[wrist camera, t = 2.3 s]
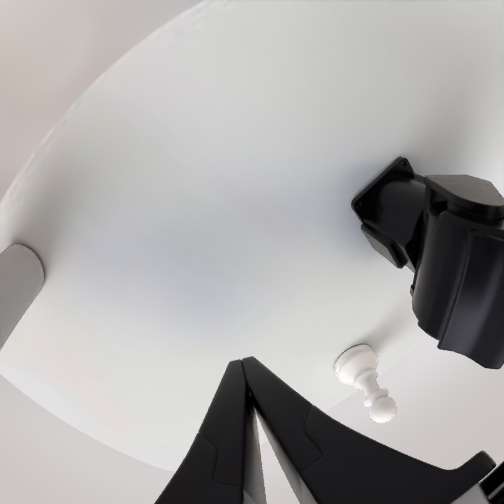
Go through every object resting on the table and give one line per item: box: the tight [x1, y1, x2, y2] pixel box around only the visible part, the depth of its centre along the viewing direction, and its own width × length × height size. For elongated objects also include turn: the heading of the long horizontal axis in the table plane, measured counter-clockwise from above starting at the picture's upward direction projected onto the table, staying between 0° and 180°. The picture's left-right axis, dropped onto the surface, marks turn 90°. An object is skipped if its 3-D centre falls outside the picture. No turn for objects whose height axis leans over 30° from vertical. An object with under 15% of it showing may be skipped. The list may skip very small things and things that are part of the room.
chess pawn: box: [334, 345, 397, 423], centre depth 26 cm, size 5×5×9 cm
